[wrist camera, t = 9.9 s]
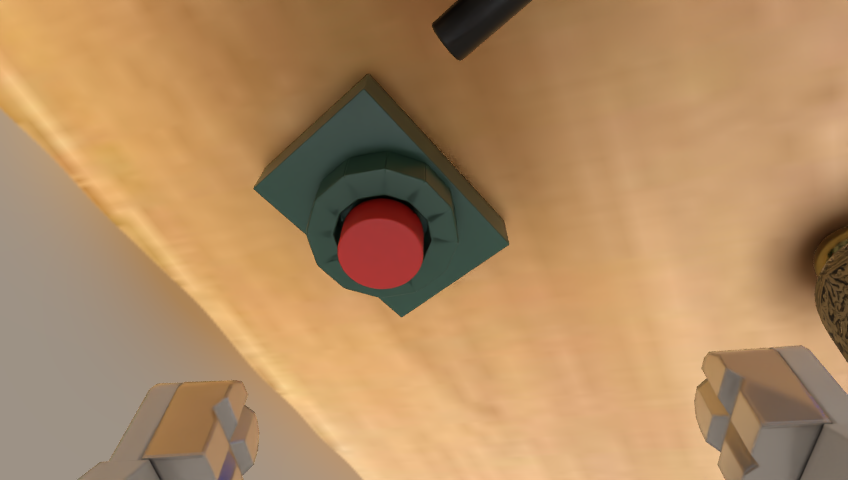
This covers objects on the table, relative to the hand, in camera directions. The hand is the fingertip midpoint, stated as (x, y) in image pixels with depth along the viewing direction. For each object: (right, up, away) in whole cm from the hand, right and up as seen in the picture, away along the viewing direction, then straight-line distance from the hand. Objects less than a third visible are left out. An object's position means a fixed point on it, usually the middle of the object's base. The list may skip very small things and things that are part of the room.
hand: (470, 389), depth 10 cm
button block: (-3, +5, +18) cm, 19 cm away
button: (-3, +3, +15) cm, 15 cm away
